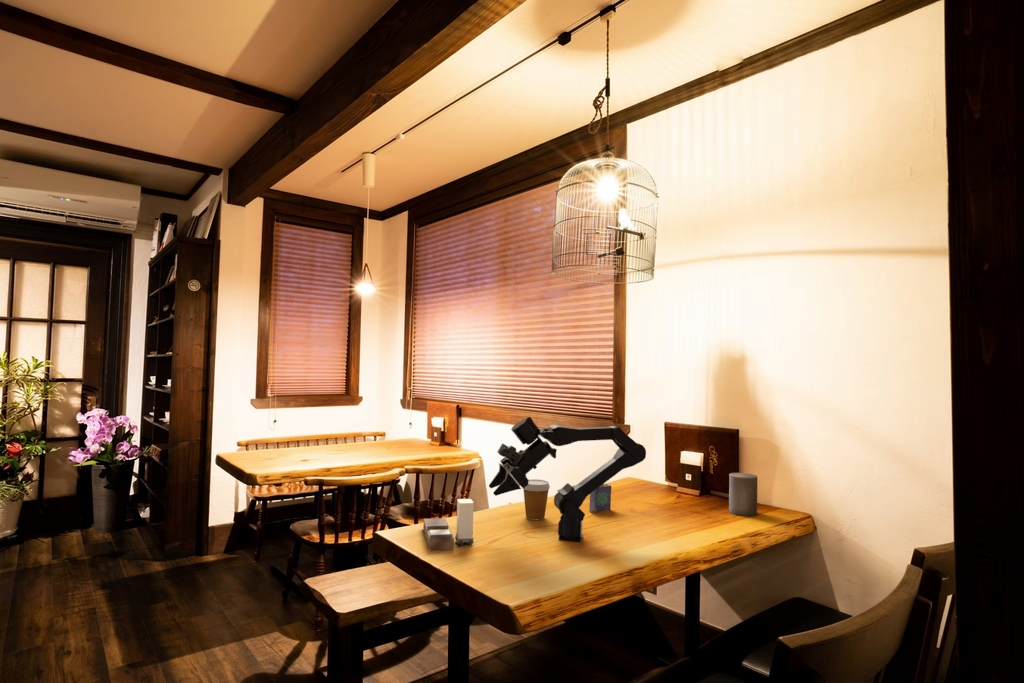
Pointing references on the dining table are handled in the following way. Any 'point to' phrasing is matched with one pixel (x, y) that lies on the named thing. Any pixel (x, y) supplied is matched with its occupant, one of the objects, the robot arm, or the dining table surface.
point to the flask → (600, 499)
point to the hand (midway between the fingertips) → (491, 490)
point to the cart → (464, 521)
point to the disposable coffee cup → (536, 498)
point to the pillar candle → (743, 494)
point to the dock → (438, 534)
